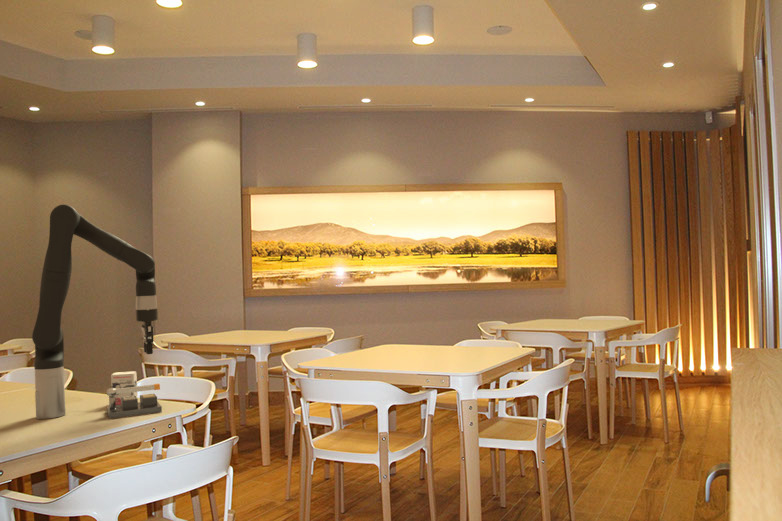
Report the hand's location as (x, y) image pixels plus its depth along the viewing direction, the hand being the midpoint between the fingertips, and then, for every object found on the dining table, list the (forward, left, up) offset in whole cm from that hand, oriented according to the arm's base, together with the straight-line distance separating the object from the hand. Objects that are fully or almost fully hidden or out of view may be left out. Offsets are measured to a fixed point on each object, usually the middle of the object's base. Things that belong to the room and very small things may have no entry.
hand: (148, 353), depth 249 cm
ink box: (-8, +12, -20) cm, 24 cm away
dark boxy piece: (-6, -8, -20) cm, 22 cm away
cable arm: (-6, -8, -13) cm, 16 cm away
